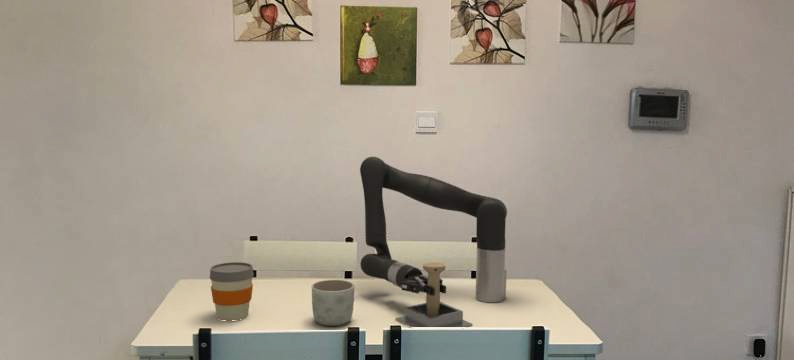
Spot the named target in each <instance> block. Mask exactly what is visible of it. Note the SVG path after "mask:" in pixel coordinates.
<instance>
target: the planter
mask: <svg viewBox="0 0 794 360" xmlns="http://www.w3.org/2000/svg"><path fill="white" fill-rule="evenodd" d="M354 303H355V284H354V283H353V282H351V281H349V280H344V279H324V280H319V281H316V282H314V283H312V285H311V305H312V307H311V308H312V314H313V315H312V316H313V318H314V320H315V322H316V323H318V324H320V325H322V326H326V327H338V326H343V325H346V324H348V322H350V321H351V320H352V317H353V312H354Z"/></svg>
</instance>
